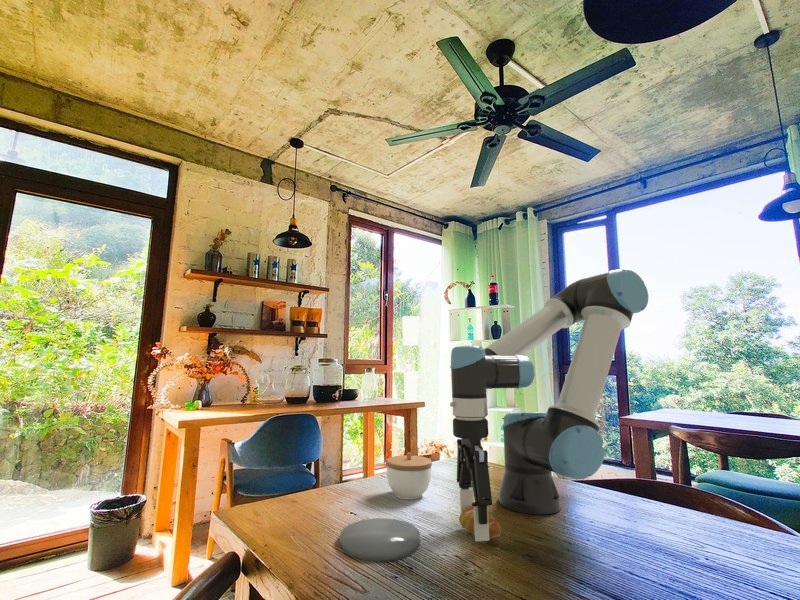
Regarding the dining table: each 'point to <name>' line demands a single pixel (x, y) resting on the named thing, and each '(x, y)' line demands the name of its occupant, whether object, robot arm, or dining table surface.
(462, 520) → the pastry
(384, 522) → the grey rounded puck
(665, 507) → the dining table surface
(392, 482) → the lidded bowl
